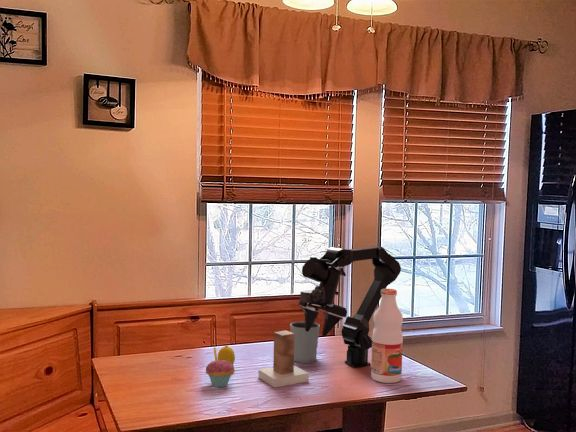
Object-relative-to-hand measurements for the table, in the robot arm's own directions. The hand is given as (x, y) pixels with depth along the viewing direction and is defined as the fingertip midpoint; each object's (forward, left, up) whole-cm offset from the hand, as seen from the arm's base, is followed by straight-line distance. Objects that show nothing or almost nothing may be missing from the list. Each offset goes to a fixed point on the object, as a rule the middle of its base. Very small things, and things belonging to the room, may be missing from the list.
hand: (314, 333), depth 184 cm
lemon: (+23, -17, -13) cm, 31 cm away
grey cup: (-6, -16, -13) cm, 22 cm away
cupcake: (+30, -6, -13) cm, 33 cm away
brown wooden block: (+11, -1, -11) cm, 15 cm away
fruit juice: (-18, +13, -13) cm, 26 cm away
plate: (+11, -1, -13) cm, 17 cm away
